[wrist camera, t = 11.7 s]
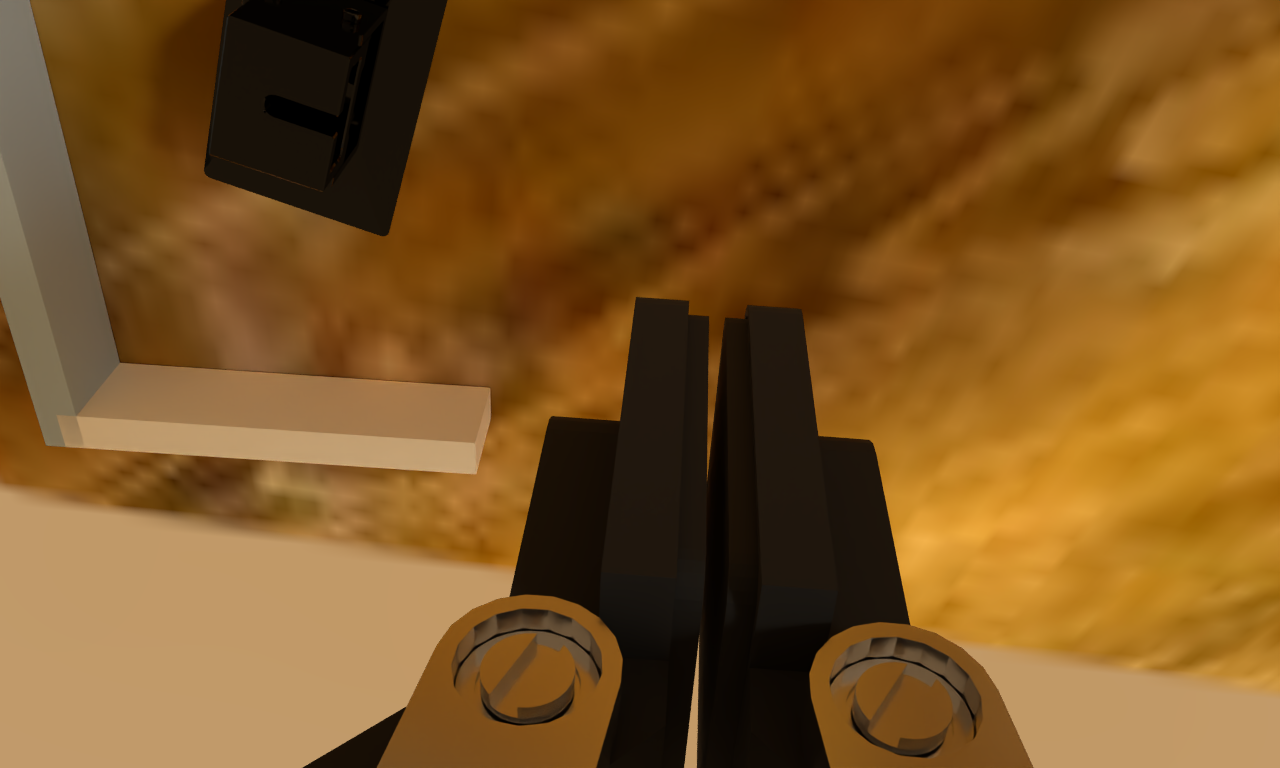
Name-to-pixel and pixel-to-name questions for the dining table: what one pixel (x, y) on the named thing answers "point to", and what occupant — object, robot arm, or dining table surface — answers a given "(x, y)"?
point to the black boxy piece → (321, 102)
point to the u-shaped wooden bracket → (167, 395)
